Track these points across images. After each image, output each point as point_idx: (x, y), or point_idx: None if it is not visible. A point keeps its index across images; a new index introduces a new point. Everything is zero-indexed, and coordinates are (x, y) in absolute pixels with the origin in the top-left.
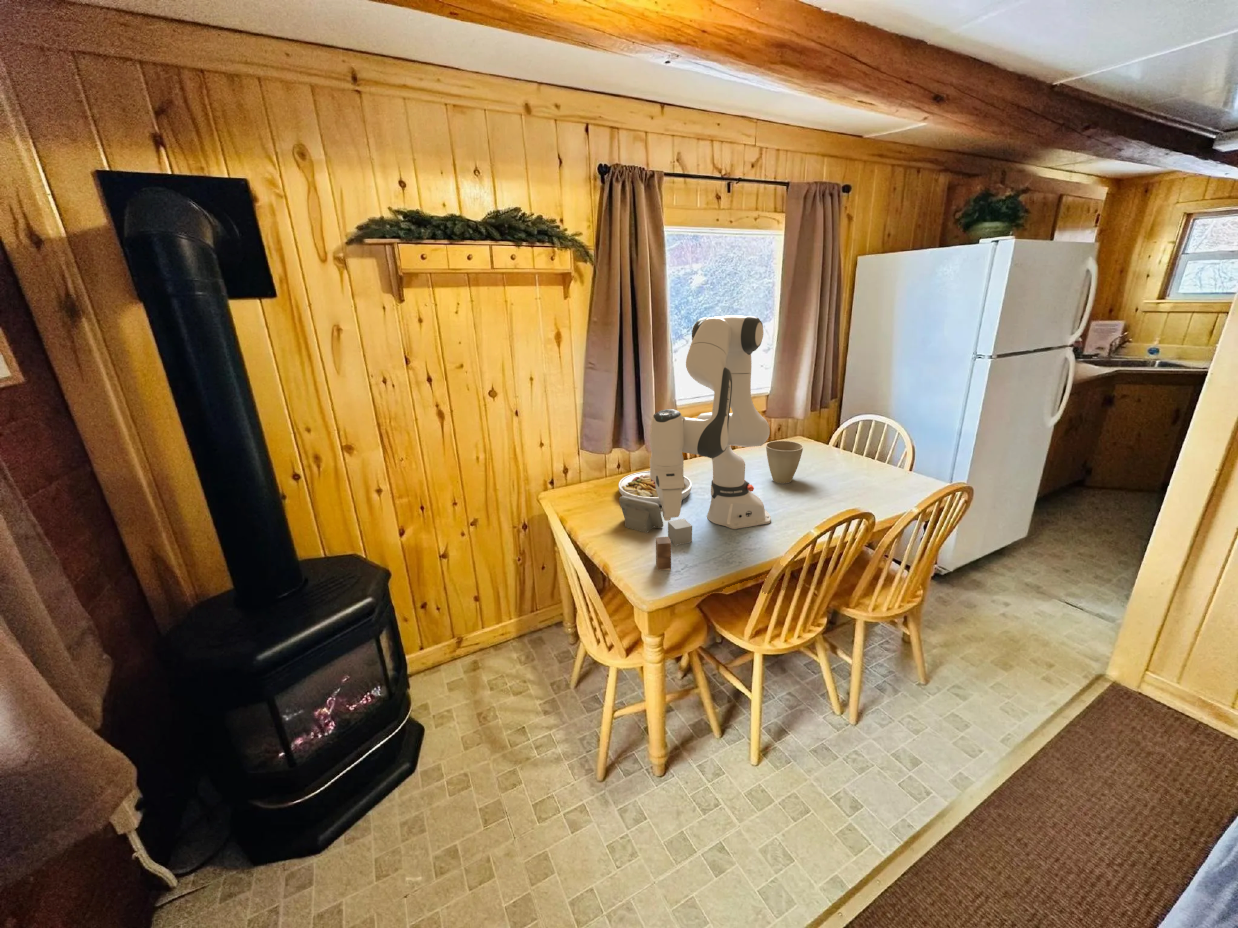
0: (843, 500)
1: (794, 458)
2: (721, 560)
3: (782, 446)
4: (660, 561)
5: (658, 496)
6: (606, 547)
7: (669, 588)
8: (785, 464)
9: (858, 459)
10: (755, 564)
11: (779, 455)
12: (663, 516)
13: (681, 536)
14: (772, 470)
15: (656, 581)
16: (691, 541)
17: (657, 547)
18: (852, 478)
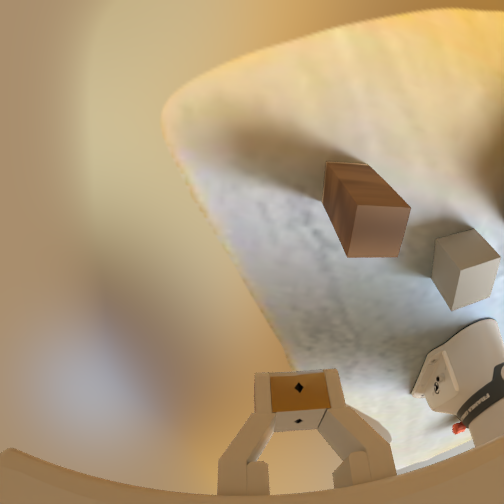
0: (407, 441)
1: None
2: (329, 322)
3: None
4: (333, 181)
5: (432, 483)
6: (481, 43)
7: (217, 179)
8: None
9: (463, 442)
10: (293, 366)
11: None
12: (301, 379)
13: (444, 268)
14: None
15: (261, 145)
16: (431, 278)
17: (356, 196)
18: (439, 443)
